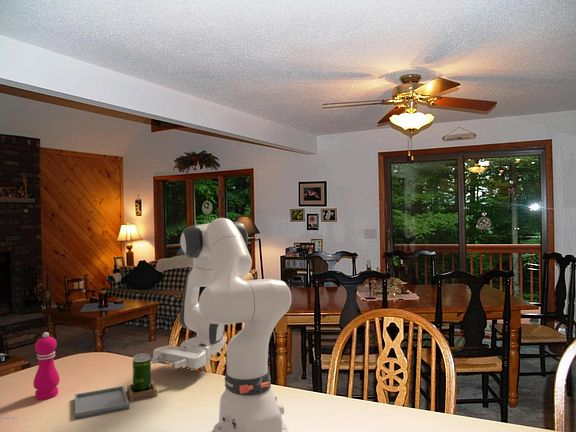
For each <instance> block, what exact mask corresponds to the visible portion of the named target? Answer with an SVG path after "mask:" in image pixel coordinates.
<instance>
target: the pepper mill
mask: <svg viewBox="0 0 576 432" xmlns="http://www.w3.org/2000/svg"><path fill="white" fill-rule="evenodd" d="M57 345H58V344H57V340H56V339H55V338H54V337H52V336H50V333H49V332H47V331H45V332H43V333H42V337H41V338H40V337H39V339H38V340H36V342H35V344H34V349H35V352H37V353H36V359H38V368H37V371H36V373H35V376H34V378H33V387H34V388H35V393H34V394H35V395H34V396H35V399H36V400H38V401H39V400H41V401H42V400H43V401H44V400H48V399H52V398H54V397H56V396H57V395H59V387H58V385H59V384H60V375H59V372H58V370H57V369H56V365H55V361H54V360H55V357H56V351H55V350H56V348H57Z"/></svg>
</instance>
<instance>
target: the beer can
mask: <svg viewBox="0 0 576 432" xmlns="http://www.w3.org/2000/svg"><path fill="white" fill-rule="evenodd" d="M151 364H152V358H151V355H150V354H149V353H143V352H142V353H138V354H134V355H133V358H132V384H133V391H132V393H136V392H141V391H147V390H152V389H151V381H152V378H151V377H152V373H151V371H152V370H151Z"/></svg>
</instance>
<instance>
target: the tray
mask: <svg viewBox="0 0 576 432" xmlns="http://www.w3.org/2000/svg"><path fill="white" fill-rule="evenodd" d="M126 391H127V390H126V388H125V386H124V385H122V386H114V387H109V388H108V387H107V388H104V389H97V390H92V391H85V392H81V393H74V409H75V410H74V413H75V414H74V415H75V416H74V419H75V420H78V419H82V418H89V417H92V416H98V415H104V414H109V413H113V412H118V411H123V410H128V409H129V410H130V401H129V399H128V398H129V397H128V394H127V393H126Z"/></svg>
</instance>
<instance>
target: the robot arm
mask: <svg viewBox="0 0 576 432" xmlns="http://www.w3.org/2000/svg"><path fill="white" fill-rule="evenodd" d="M179 242H180V247H181V250H182V251H183V254H184V255H185V256H186V257H187V258H192V264H193V265H192V268H191V269H190V270H189V271H188V272H187V274H186V277H185V283H184V289H183V295H182V296H183V297H182V303H181V304H182V305H181V308H180V311H179V313H178V314H179V315H178V318H179V323H180V326H181V327H182V328H183V329H186V330H189V331H193V332H194V333H196V334H197V335H196V336H194V337H191V338H188V339H186V340H184V341H182V342H181V343H180V345H179V346H176V345H172V344H171V345H170V344H169V345H164V346H160V347H156V348H155V349H154V350H153V356H152V358H151V364H154V365H156V364H159V362H163V363H167V364H171V365H172V367H171V368H173V369H178V368H185V367H186V368H190V369H194V370H195V369H196V370H197V369H200V368H202V367H205V366H209V365H210V363H211V357H212V356H214V355H216V354H217V353H219V352H220V351H221V350H222V349H223V348H224V347H225V344H226V336H225V333H226V325H232V324H240V323H244V325H243V327H242V328H241V330H240V331H239V332H237V334H235V335H233V336H232V337H231V338H230V339H229V341H228V342H227V344H226V371H225V373H224V387H225V389H224V391H223V393H222V394H221V396H220V398H219V411H218V412H219V413H218V422H217V423H215V424H214V425H213V432H290V431H289V429H288V427H287V426H286V424H285V421H284V419H283V417H282V415H284V414H285V408H284V405H283V404H282V405H281V404H280V405H278V402H277V401H278V396H277V395H275V394H274V393H273V390H272V383H271V376H270V371H269V369H268V358H269V357H268V356H269V355H268V354H269V343H270V339H271V336H272V333H273V331H274V329H275V327H276V325H277V324H278V322H279V321H280V320H281V319H282V317H284V315H285V314H287V312H288V311H289V309H290V307H291V304H292V293H291V290H290V287H289V286H288V284H287V283H286V282H285V281H283V280H282V279H281V280H280V279H274V278H273V279H272V278H263V279H262V278H261V279H249V280H245V279H244V278H245V277H246V276H248V274H249V273H250V271H251V269H252V266H253V260H252V257H251V254H250V252H249V248H248V247H247V246H248V242H249V235H248V230H247V228H246V226H245V225H244V224H243V223H242V222H239V221H232V220H231V219H229V218H225V217H219V218H215V219H214V220H212V221H211V222H208V223H202V224H198V225H190V226H187V227H185V228H184V229H183V230H182V232H181V235H180V241H179ZM201 287H204V289H203V290H202V292H201V294H200V288H201ZM199 295H200V296H199Z"/></svg>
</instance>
